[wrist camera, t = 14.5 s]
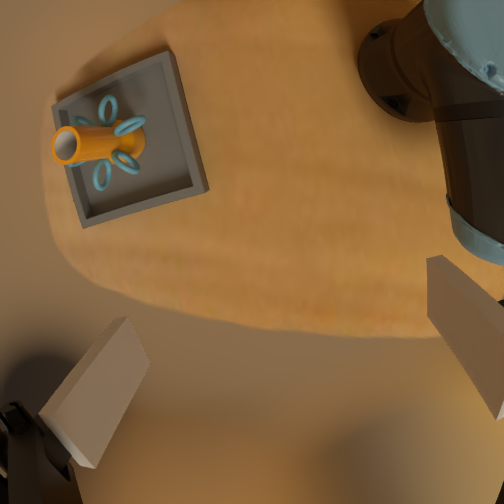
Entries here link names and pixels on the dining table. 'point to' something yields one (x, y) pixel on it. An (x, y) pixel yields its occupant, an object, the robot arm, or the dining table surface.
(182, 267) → the dining table surface
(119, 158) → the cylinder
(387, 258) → the dining table surface
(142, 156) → the tray
